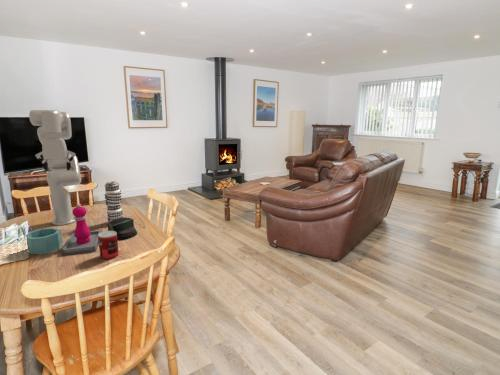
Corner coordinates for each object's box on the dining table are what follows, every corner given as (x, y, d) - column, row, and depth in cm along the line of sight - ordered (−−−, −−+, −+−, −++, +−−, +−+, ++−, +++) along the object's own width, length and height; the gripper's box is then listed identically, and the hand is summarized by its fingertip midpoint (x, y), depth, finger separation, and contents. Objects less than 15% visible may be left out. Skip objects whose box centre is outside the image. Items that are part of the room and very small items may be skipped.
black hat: (133, 243, 156) (131, 226, 154) (94, 242, 156) (92, 225, 154) (145, 228, 176) (144, 213, 174) (111, 228, 176) (109, 213, 173)
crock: (34, 244, 153) (31, 229, 151) (64, 241, 157) (62, 226, 155) (23, 256, 141) (20, 240, 139) (57, 252, 145) (54, 236, 143)
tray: (73, 237, 162) (72, 233, 161) (102, 234, 166) (101, 230, 166) (62, 255, 142) (61, 250, 141) (95, 251, 146) (95, 246, 145)
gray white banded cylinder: (127, 221, 187) (123, 181, 182) (114, 225, 179) (110, 184, 174) (117, 218, 191) (113, 180, 186) (104, 223, 183) (99, 183, 178)
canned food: (104, 252, 145) (101, 230, 142) (121, 251, 146) (119, 230, 143) (97, 259, 137) (94, 237, 135) (115, 259, 138) (113, 236, 136)
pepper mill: (94, 239, 156) (90, 202, 151) (83, 245, 149) (77, 206, 145) (84, 238, 158) (79, 201, 154) (72, 243, 152) (66, 205, 147)
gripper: (29, 137, 144) (35, 172, 148) (71, 136, 149) (75, 170, 153) (35, 136, 151) (40, 170, 155) (74, 135, 156) (78, 168, 160)
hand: (58, 170), depth 154 cm, fingers open, 9 cm apart
